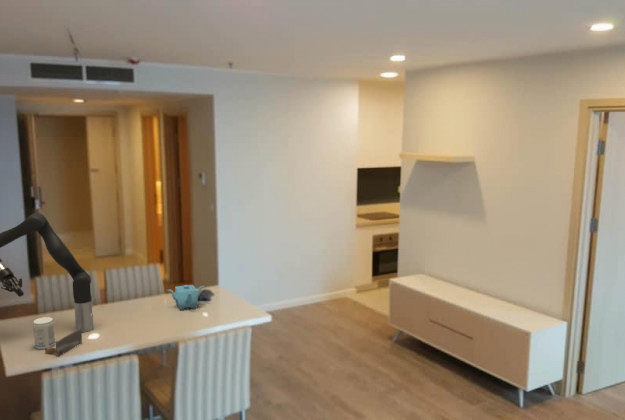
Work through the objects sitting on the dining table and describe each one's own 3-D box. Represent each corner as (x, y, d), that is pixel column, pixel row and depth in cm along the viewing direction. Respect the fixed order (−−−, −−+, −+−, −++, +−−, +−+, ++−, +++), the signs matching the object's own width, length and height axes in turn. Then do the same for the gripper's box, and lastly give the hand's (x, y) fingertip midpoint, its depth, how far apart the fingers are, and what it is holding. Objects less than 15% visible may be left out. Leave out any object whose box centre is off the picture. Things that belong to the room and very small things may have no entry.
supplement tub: (51, 340, 285) (49, 315, 282) (57, 346, 278) (56, 320, 276) (32, 346, 278) (30, 320, 275) (38, 351, 271) (36, 324, 269)
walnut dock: (43, 354, 268) (42, 339, 266) (67, 341, 285) (67, 327, 284) (58, 356, 265) (57, 342, 264) (82, 343, 283) (81, 329, 281)
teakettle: (182, 300, 355) (182, 280, 353) (206, 304, 349) (205, 283, 346) (166, 309, 337) (165, 288, 335) (190, 313, 331) (190, 291, 329)
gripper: (-5, 270, 274) (15, 294, 273) (15, 264, 287) (35, 287, 286) (-12, 279, 277) (8, 303, 276) (8, 272, 289) (27, 295, 288)
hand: (21, 295), depth 281 cm, fingers closed
